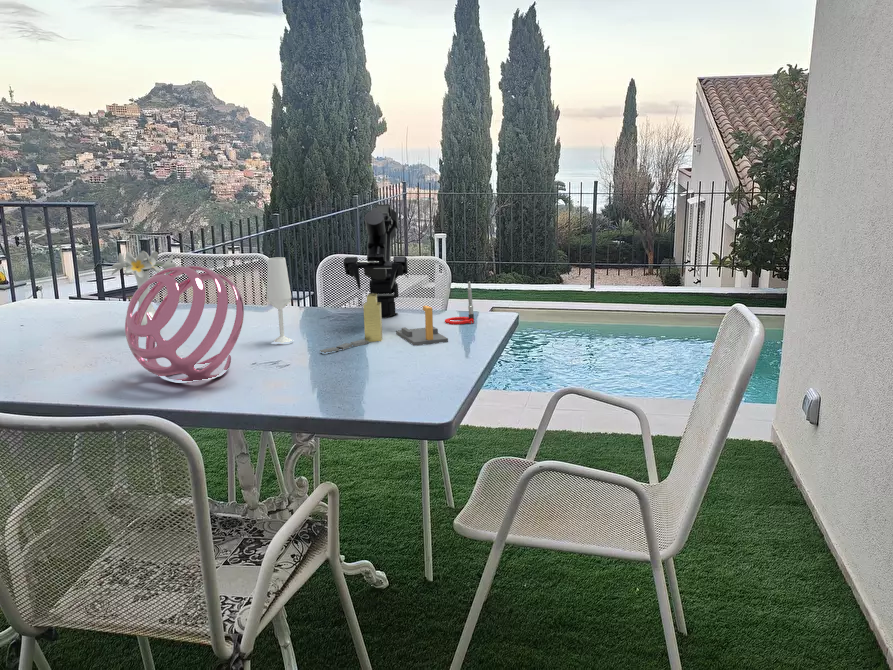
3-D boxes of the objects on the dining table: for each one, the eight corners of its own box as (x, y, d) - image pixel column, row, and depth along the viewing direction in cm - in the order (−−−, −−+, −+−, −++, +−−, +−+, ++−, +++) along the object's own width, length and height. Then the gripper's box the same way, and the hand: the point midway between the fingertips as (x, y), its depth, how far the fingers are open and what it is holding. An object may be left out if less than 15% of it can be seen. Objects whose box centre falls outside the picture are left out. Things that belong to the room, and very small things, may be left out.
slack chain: (318, 353, 191) (318, 350, 191) (359, 341, 204) (359, 338, 204) (328, 355, 189) (328, 352, 189) (369, 343, 202) (369, 340, 201)
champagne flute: (265, 343, 203) (258, 259, 198) (281, 338, 209) (275, 256, 204) (284, 346, 200) (277, 260, 195) (299, 340, 206) (293, 257, 201)
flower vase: (188, 329, 224) (180, 248, 219) (132, 340, 210) (121, 255, 205) (165, 324, 232) (157, 246, 227) (110, 334, 218) (99, 252, 213)
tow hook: (444, 326, 224) (473, 324, 223) (441, 285, 221) (471, 283, 220) (445, 321, 232) (474, 319, 231) (442, 281, 229) (471, 279, 228)
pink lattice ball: (226, 281, 190) (147, 230, 167) (294, 317, 175) (217, 267, 152) (168, 372, 186) (79, 332, 164) (231, 418, 171) (143, 381, 148)
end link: (366, 338, 208) (364, 293, 205) (382, 337, 208) (380, 293, 205) (365, 341, 204) (363, 296, 201) (380, 341, 204) (379, 296, 201)
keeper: (396, 333, 212) (395, 300, 210) (427, 330, 216) (427, 297, 214) (414, 345, 198) (413, 310, 196) (448, 341, 202) (447, 306, 199)
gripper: (409, 262, 226) (408, 303, 217) (349, 263, 226) (346, 304, 217) (407, 239, 216) (405, 281, 208) (345, 240, 216) (341, 282, 208)
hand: (374, 288), depth 211 cm, fingers open, 9 cm apart
